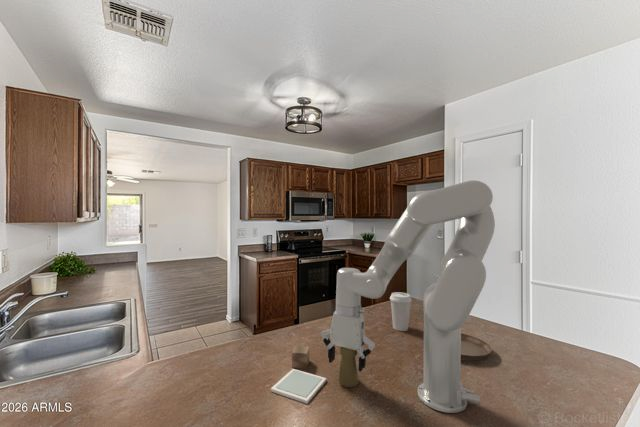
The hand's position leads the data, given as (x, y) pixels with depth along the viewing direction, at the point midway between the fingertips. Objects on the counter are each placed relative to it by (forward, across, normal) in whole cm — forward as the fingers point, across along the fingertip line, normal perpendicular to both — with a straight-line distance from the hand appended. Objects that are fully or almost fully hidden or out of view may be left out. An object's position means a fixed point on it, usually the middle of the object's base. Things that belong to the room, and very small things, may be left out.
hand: (346, 364), depth 89 cm
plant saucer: (+4, -31, -38) cm, 49 cm away
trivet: (+5, +11, +9) cm, 15 cm away
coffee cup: (+5, -7, -49) cm, 50 cm away
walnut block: (+5, +17, -2) cm, 18 cm away
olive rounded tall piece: (+5, -1, 0) cm, 5 cm away
